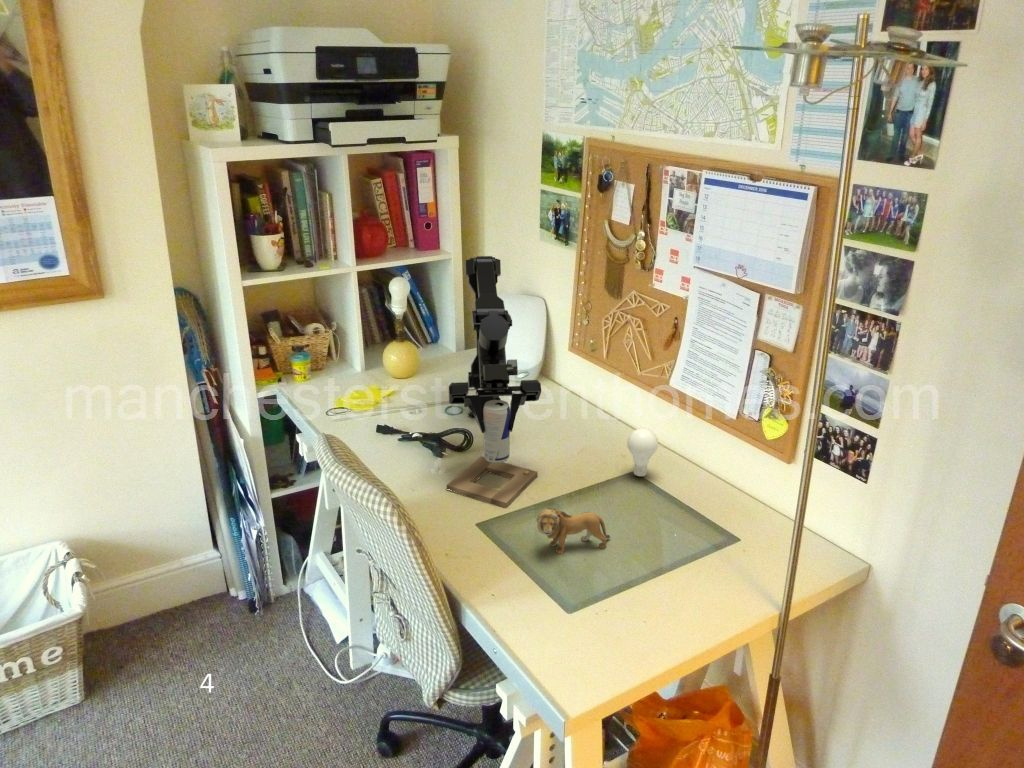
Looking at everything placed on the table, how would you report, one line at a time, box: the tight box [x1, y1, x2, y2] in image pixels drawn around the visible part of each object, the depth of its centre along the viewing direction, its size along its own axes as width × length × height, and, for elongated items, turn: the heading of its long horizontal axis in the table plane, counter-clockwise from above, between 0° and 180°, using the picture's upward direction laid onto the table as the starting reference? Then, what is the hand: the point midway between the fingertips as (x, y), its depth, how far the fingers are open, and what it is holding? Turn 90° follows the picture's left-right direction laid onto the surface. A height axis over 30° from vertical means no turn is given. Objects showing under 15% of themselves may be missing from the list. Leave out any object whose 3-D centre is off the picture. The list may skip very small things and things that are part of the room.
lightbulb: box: [627, 427, 659, 478], centre depth 160 cm, size 6×6×11 cm
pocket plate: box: [446, 456, 539, 509], centre depth 158 cm, size 14×14×2 cm
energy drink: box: [482, 399, 511, 463], centre depth 154 cm, size 5×5×12 cm
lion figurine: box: [536, 508, 611, 555], centre depth 137 cm, size 15×5×9 cm, turn 110°
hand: (497, 431), depth 152 cm, fingers closed on energy drink, 5 cm apart
